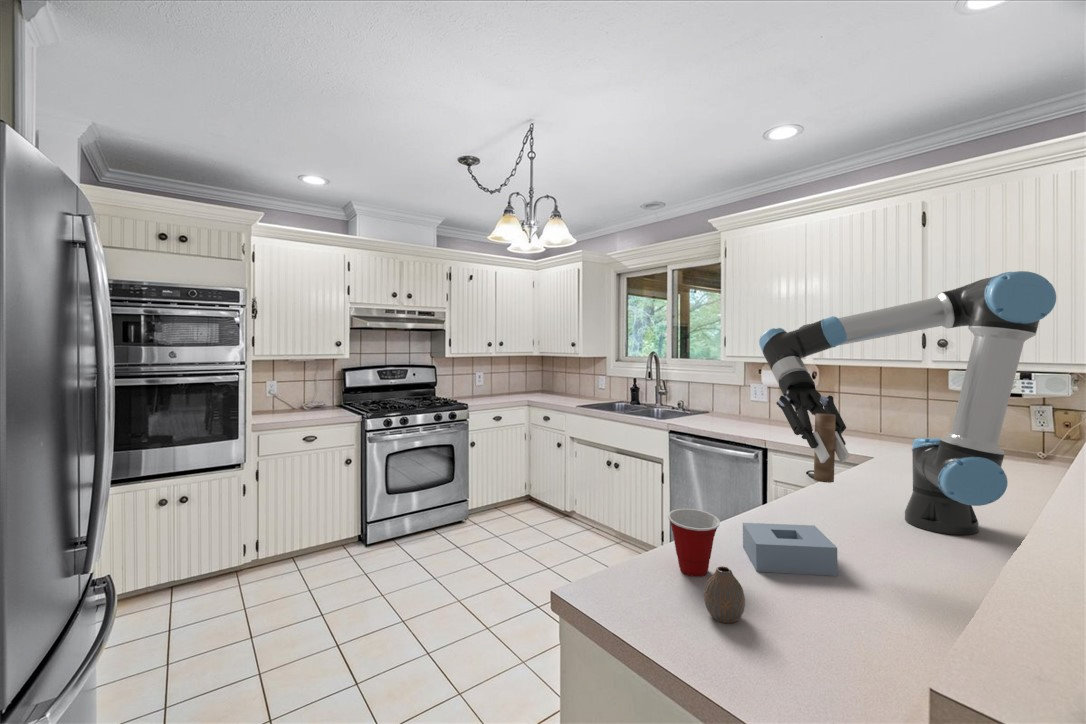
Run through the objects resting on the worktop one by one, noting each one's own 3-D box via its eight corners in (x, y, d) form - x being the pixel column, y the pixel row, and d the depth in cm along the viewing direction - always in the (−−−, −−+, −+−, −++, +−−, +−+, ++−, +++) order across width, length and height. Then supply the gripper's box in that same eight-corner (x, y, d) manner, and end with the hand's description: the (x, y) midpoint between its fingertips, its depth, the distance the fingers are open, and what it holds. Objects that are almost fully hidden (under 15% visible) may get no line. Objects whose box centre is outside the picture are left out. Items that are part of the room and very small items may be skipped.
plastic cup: (699, 588, 98) (698, 529, 98) (658, 569, 107) (657, 515, 107) (731, 573, 105) (730, 517, 104) (690, 556, 114) (689, 505, 113)
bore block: (814, 550, 115) (814, 525, 115) (837, 576, 102) (837, 547, 102) (742, 547, 118) (742, 522, 118) (756, 571, 105) (756, 543, 105)
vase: (749, 630, 84) (748, 579, 84) (706, 626, 85) (706, 576, 85) (741, 608, 90) (740, 562, 90) (702, 605, 92) (701, 559, 92)
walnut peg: (830, 478, 113) (831, 413, 112) (836, 483, 109) (838, 416, 108) (811, 477, 114) (812, 413, 113) (817, 482, 110) (818, 415, 109)
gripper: (818, 388, 126) (863, 467, 110) (755, 388, 125) (790, 469, 109) (832, 368, 121) (881, 449, 105) (766, 368, 120) (805, 450, 104)
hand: (835, 459), depth 107 cm, fingers closed on walnut peg, 4 cm apart
